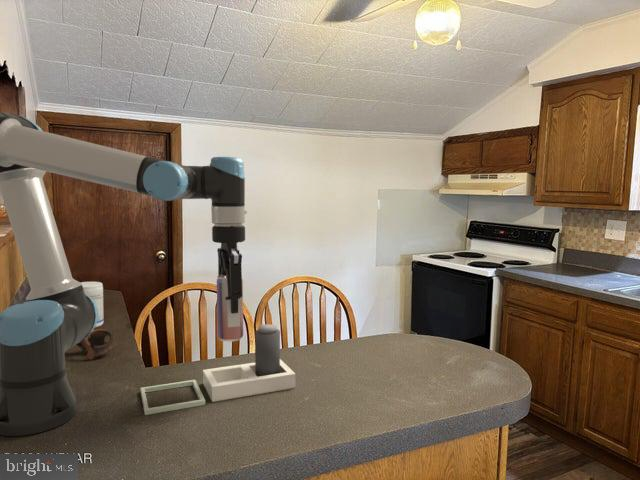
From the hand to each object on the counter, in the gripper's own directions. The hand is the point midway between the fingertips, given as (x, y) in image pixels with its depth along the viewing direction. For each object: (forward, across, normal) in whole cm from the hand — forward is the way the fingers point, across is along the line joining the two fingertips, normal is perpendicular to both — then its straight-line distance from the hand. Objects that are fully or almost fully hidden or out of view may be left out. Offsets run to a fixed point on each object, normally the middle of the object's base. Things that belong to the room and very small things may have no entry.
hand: (230, 322), depth 111 cm
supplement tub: (+16, +71, +33) cm, 80 cm away
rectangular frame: (+16, 0, +14) cm, 21 cm away
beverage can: (+4, 0, 0) cm, 4 cm away
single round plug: (+16, 0, -9) cm, 19 cm away
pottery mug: (+16, +39, +30) cm, 52 cm away
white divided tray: (+16, 0, -4) cm, 17 cm away
